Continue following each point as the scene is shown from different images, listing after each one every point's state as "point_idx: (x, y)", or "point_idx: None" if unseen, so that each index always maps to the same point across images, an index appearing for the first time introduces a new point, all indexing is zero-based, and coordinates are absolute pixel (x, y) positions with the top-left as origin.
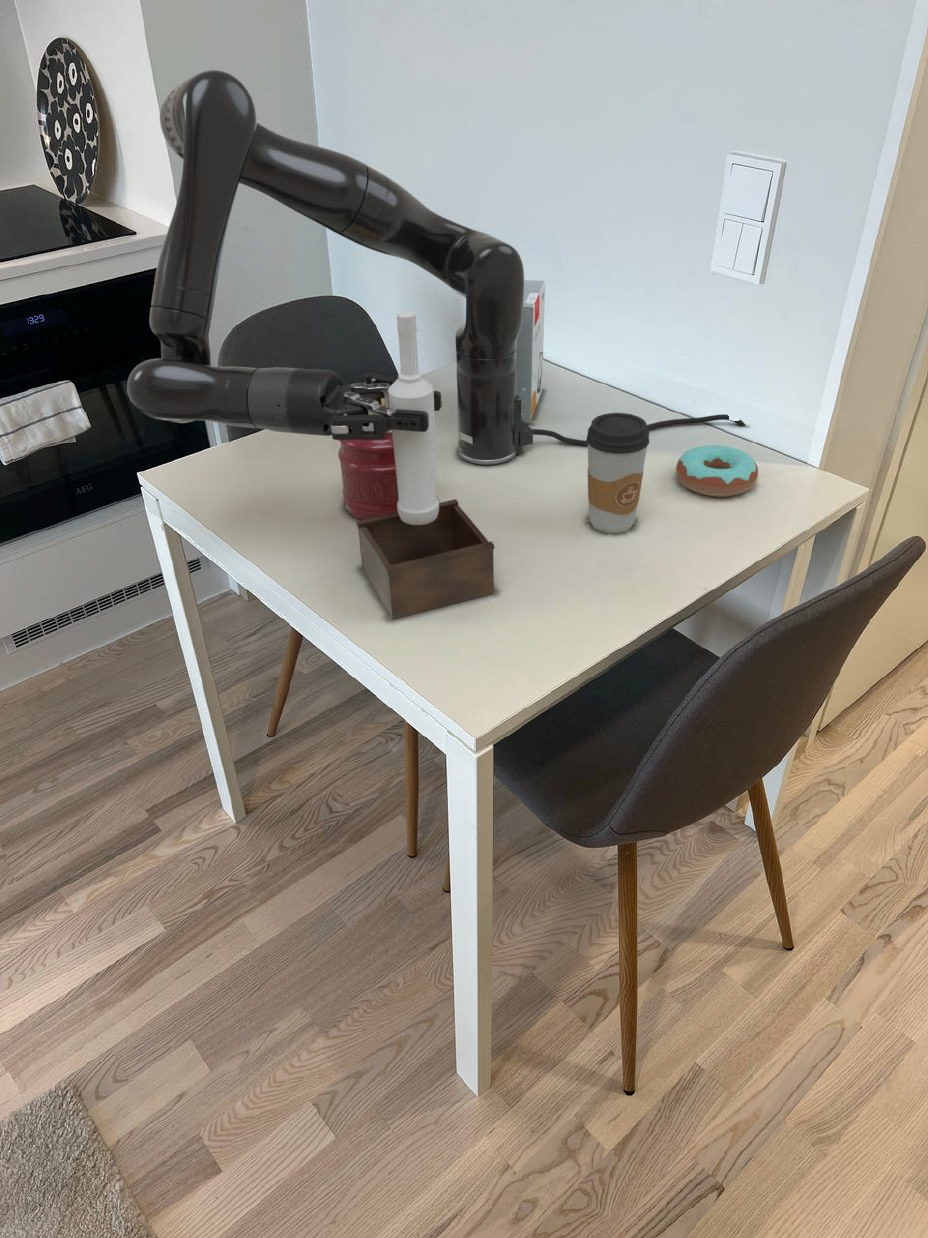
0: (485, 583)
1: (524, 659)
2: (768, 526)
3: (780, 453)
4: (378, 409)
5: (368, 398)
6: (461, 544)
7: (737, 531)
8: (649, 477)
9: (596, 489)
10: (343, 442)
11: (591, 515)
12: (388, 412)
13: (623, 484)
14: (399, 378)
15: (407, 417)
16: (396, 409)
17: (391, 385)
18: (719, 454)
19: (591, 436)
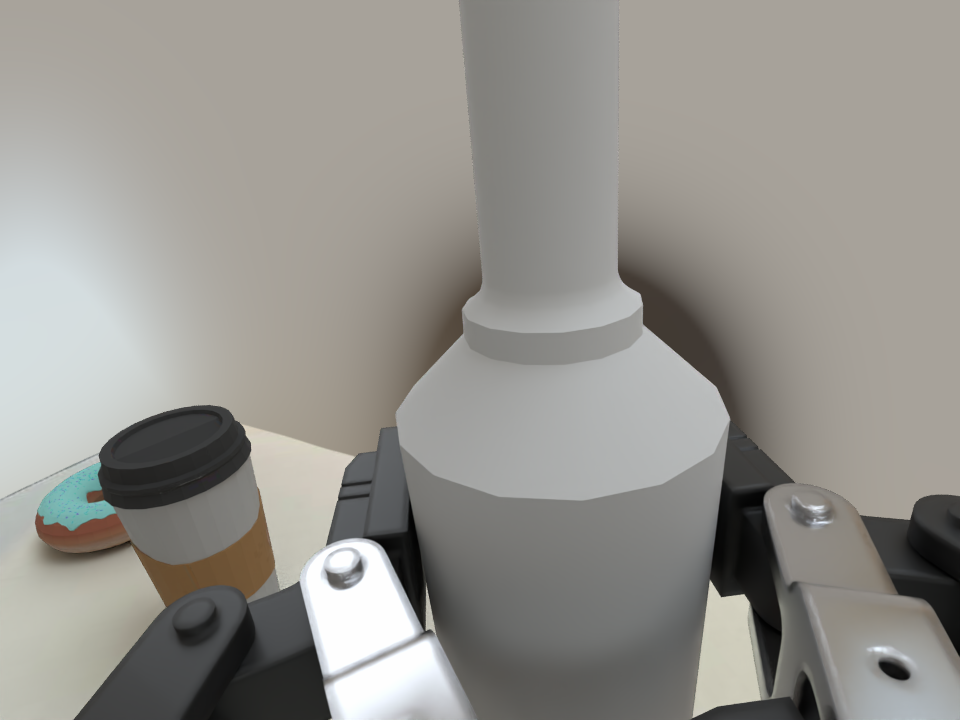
0: None
1: (734, 632)
2: (272, 456)
3: (60, 471)
4: (864, 569)
5: (834, 683)
6: None
7: (283, 477)
8: (59, 598)
9: (244, 560)
10: None
11: None
12: (835, 498)
13: (262, 506)
14: (633, 322)
15: (745, 451)
16: (735, 492)
17: (596, 462)
18: (83, 488)
19: (187, 476)
